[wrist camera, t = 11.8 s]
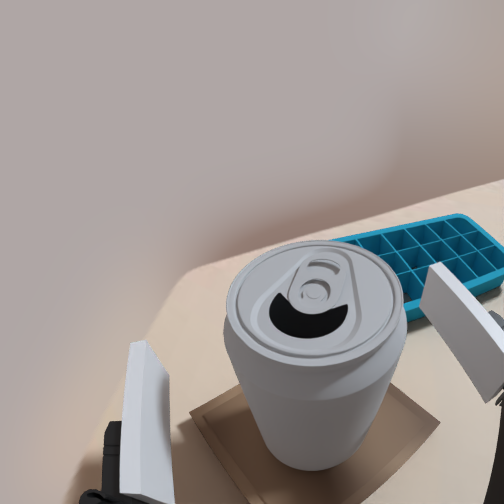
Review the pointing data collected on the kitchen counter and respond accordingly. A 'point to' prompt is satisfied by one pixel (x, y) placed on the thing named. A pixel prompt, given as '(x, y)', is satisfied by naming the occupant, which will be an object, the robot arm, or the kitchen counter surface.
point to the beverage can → (315, 346)
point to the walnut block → (311, 482)
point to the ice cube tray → (436, 254)
